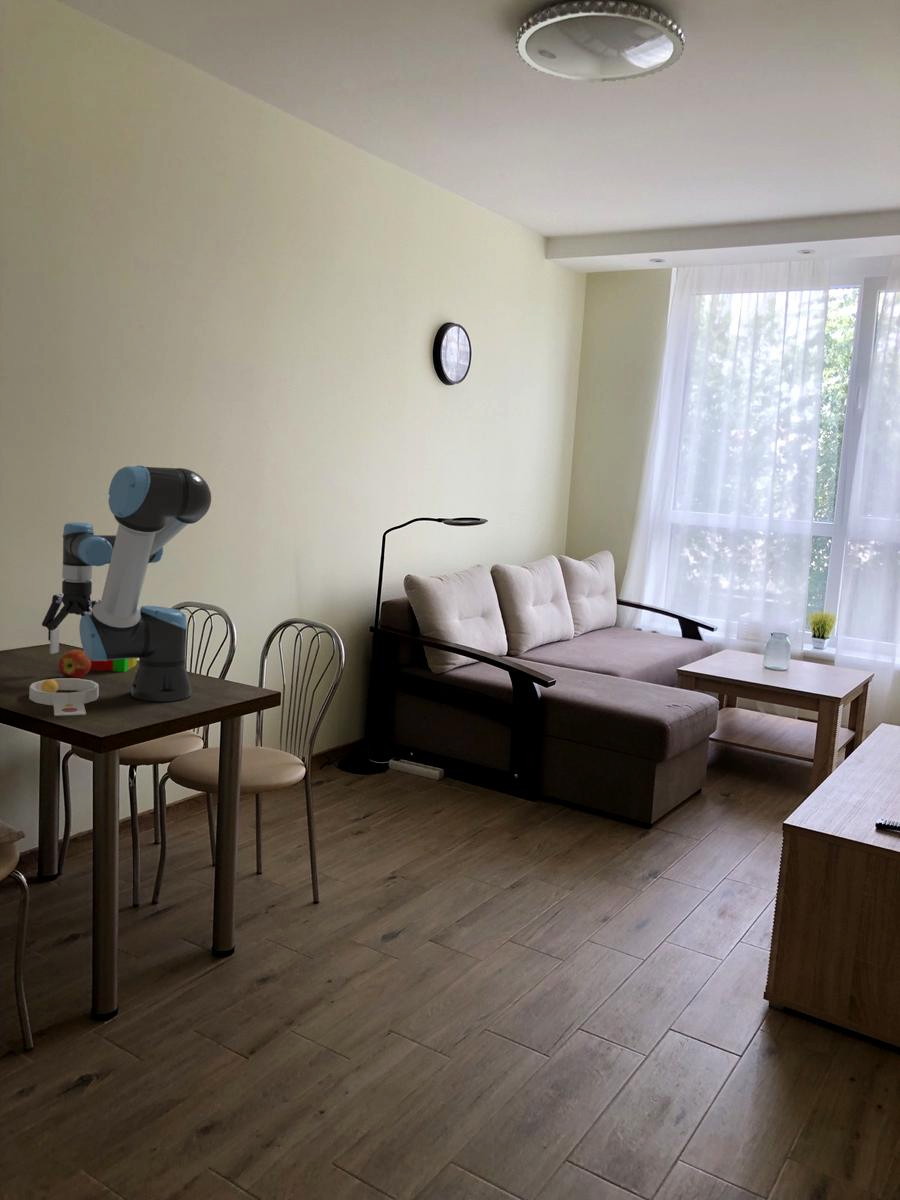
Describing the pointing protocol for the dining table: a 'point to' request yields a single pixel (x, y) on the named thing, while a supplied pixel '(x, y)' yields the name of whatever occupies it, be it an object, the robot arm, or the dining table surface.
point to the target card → (69, 709)
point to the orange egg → (49, 686)
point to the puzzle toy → (114, 664)
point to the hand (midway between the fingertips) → (75, 656)
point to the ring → (86, 694)
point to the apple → (74, 664)
